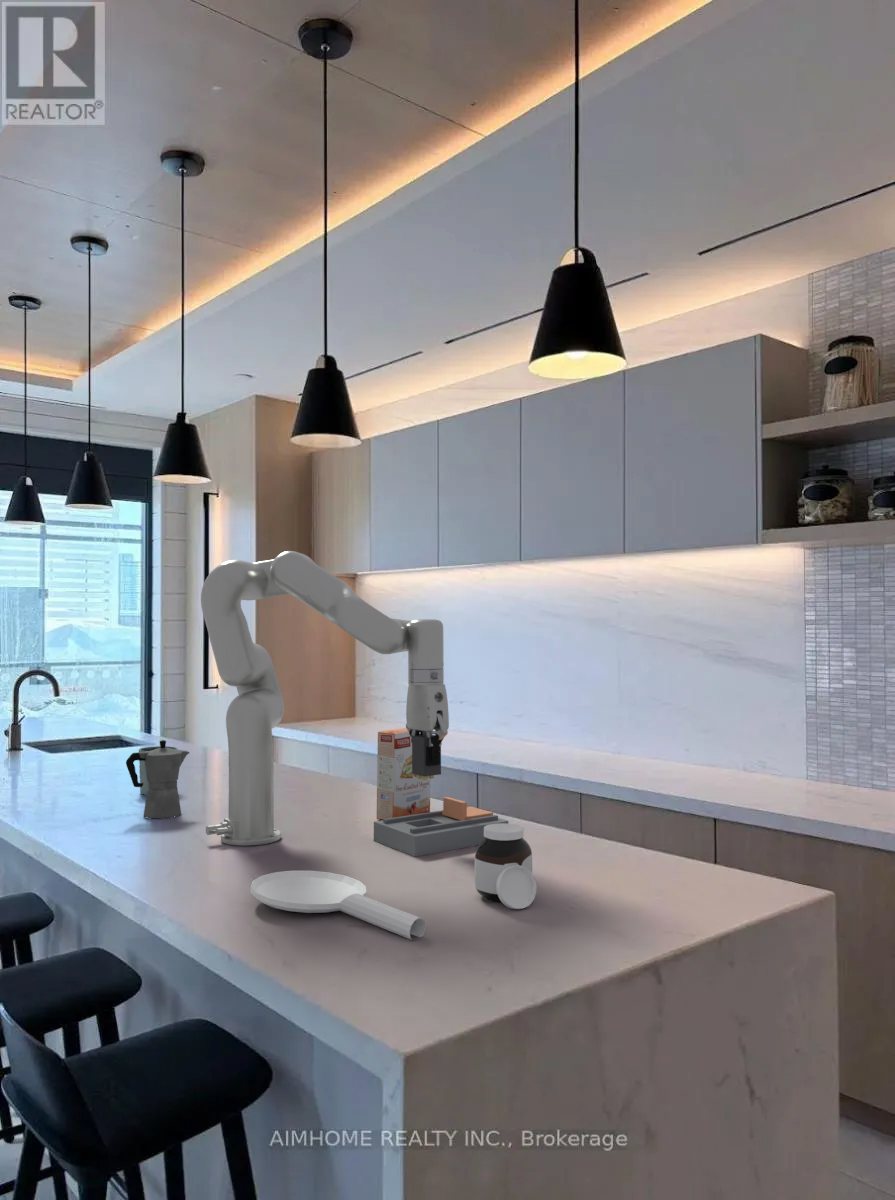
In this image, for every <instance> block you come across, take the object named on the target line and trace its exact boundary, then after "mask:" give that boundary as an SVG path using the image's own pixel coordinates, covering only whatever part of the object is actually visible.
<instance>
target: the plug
mask: <svg viewBox="0 0 895 1200" xmlns="http://www.w3.org/2000/svg"><path fill="white" fill-rule="evenodd" d="M434 735H435V734H432V739H433V737H434ZM426 747H428V742H427V734H426V732H423V735H416V736H412V774H416V775H417V779H422V776H423V780H428V776H429V778H430V779H435V776H439V775H442V745H441V746H440V764H439V765H434V766H427V765H426Z"/></svg>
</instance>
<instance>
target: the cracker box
mask: <svg viewBox="0 0 895 1200" xmlns="http://www.w3.org/2000/svg"><path fill="white" fill-rule="evenodd" d="M419 733H420V732H419ZM376 757H377V760H376V761H377V765H376V766H377V767H376V768H377V769H376V774H377V775H376V820H379V821H381V820H383V819H388V818H395V817H402V816H408V815H415V814H422V813H428V812H431V781H432V780H431V779H430V778H429V776H428V780H423V776H422V779H417V775H416V774H412V743H411V736H410V734H409V732H408V730H407V729H406V727H403V728H397V729H396V728H395V729H389V730H380V731H377V756H376Z"/></svg>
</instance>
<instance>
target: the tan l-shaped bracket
mask: <svg viewBox="0 0 895 1200" xmlns="http://www.w3.org/2000/svg"><path fill="white" fill-rule="evenodd" d="M442 798H443V799H442V802H443V805H442V806H443V807H442V810H443V811H442V810H441V811H442V815H445V816H448V817H452V818H455V819H458V820H467V819H473V818H479V817H485V816H492V815H494V812H492V811H488V810H484V809H481V808H478V807H474V806H468V803H467V801H464V800H461V799H460V800H459V799H457V798H452V797H450V796H446V797H445V796H444V797H442Z"/></svg>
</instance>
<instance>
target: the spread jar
mask: <svg viewBox="0 0 895 1200" xmlns="http://www.w3.org/2000/svg"><path fill="white" fill-rule="evenodd" d="M524 833H525V832H524V827H523V826H521V825H518V824H514V823H508V824H506V823H498V824H490V825H486V826H485V827H484V837H485V838H484V839H483V840H482V841H481V843H480V844H479V845H477V849H476V851H475V855H474V886H475V889H476V892H477V893H478V894H479V895H480V896H481V897H482V898H483V899H485V900H487V901H490V902H493V903H500V904H501V903H502V904H503V905H504V906H506V908H508V909H512V910H520V909H521V910H522V909H524V908H527V907H529V906H530V905H531V904H532V903H533V902H534V900H535V897H536V894H537V882H536V878H535V876H534V875H533V852H532V847H531V846H530V844H529V843H528V841H526V840H525V838H524V835H525V834H524Z"/></svg>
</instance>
